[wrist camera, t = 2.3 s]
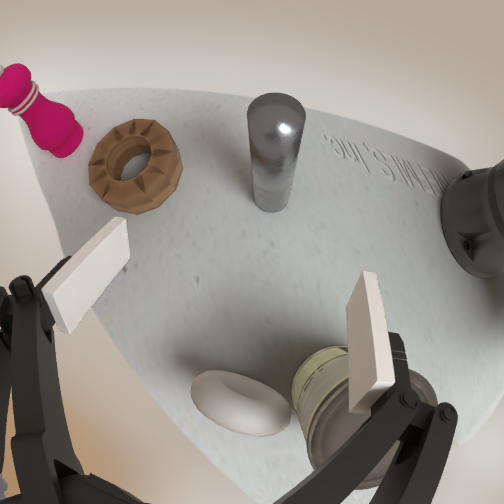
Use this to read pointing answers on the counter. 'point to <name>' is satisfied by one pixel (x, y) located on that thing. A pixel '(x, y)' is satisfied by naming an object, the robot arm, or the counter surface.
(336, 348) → the coffee can
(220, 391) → the donut
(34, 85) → the pepper mill
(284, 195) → the metal cylinder peg
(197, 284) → the counter surface
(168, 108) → the counter surface
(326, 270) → the counter surface
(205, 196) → the counter surface
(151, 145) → the bead
